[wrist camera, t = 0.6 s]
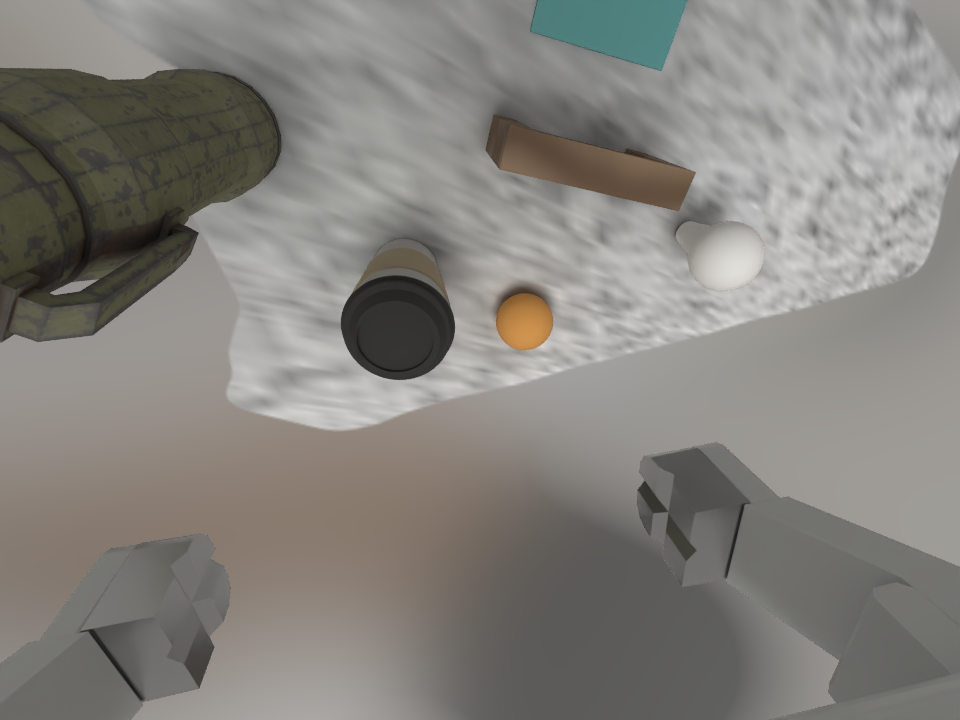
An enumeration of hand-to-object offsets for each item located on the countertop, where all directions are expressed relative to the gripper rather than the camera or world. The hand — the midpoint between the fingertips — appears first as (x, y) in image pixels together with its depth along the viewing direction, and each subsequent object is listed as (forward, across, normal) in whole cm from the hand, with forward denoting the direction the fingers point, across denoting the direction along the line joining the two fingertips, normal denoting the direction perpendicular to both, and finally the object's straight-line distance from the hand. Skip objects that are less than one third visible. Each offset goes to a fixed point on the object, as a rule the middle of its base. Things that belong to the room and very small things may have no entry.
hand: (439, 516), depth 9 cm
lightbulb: (+38, -28, +5) cm, 48 cm away
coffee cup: (+41, +1, +6) cm, 41 cm away
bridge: (+38, -16, -4) cm, 42 cm away
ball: (+37, -11, +12) cm, 41 cm away
